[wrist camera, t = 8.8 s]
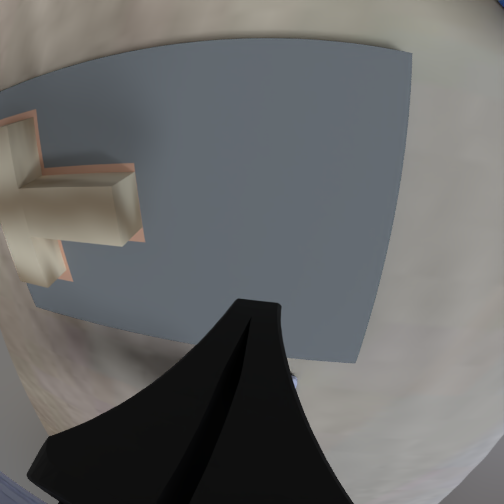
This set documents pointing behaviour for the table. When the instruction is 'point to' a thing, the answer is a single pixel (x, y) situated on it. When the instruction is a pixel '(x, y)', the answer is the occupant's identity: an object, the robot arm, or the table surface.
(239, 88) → the mat
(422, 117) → the table surface
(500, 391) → the table surface
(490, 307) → the table surface
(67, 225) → the t block
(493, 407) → the table surface
